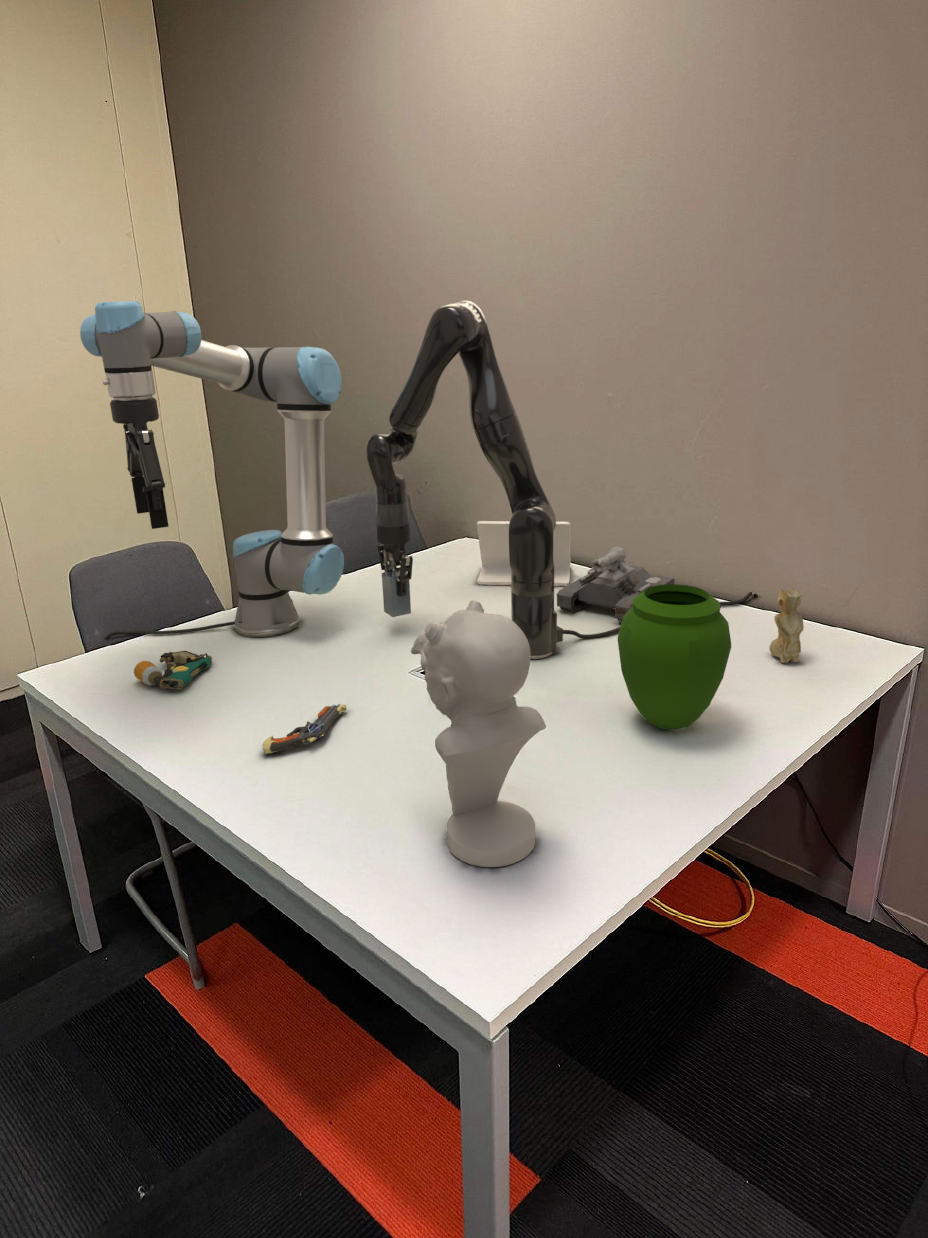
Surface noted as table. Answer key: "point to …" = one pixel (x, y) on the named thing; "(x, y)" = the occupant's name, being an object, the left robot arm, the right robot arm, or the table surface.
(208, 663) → the spray gun
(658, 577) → the toy
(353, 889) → the table surface
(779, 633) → the sculpture
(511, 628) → the bust sculpture
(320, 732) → the toy gun
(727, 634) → the vase
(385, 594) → the block
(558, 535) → the tablet stand
